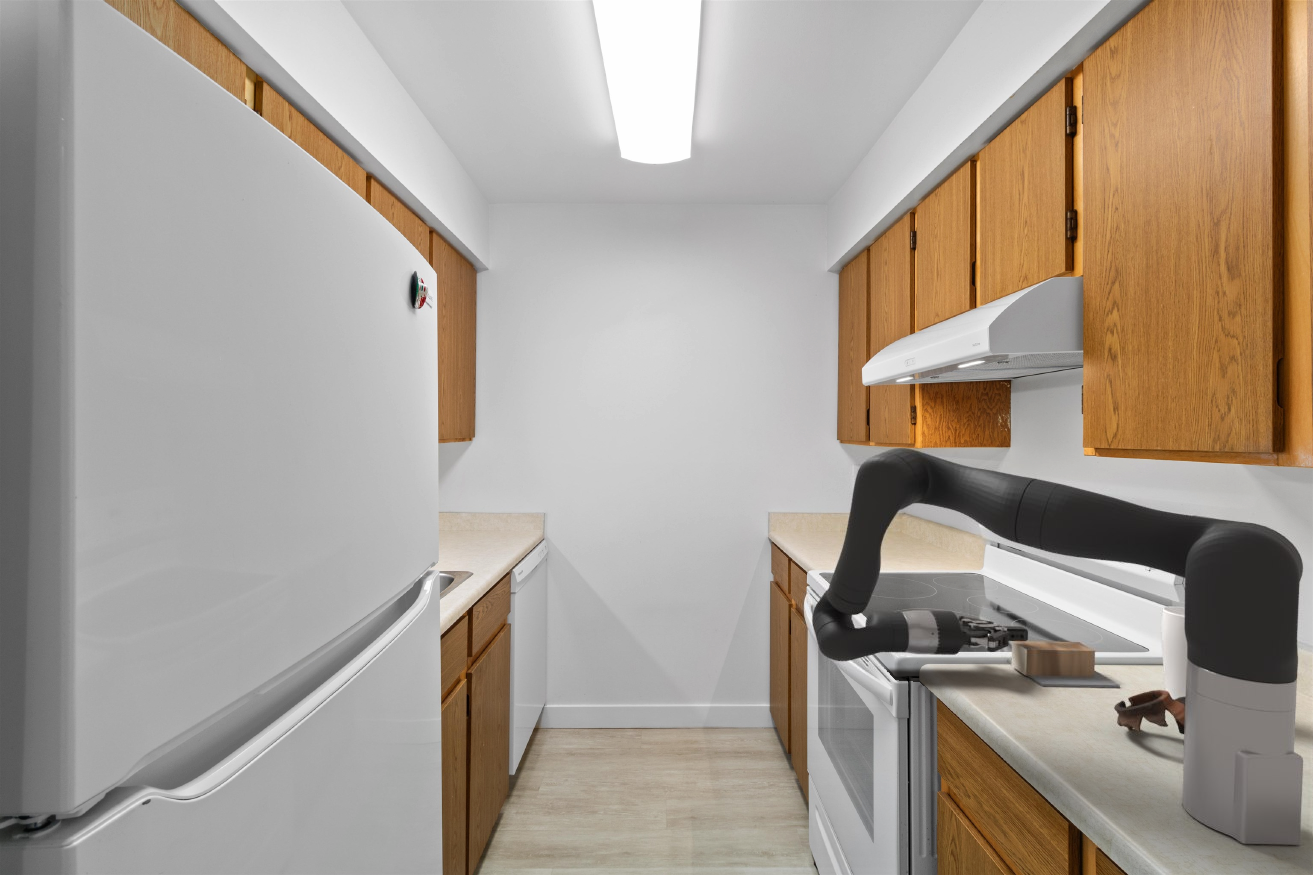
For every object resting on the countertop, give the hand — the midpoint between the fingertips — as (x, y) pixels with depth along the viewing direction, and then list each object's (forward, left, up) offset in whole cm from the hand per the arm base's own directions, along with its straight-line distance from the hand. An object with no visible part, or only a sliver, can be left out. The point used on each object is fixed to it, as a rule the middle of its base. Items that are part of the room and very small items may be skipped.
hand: (1025, 633), depth 117 cm
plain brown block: (0, +1, -4) cm, 4 cm away
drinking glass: (-13, -18, -7) cm, 23 cm away
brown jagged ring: (-25, -6, -7) cm, 27 cm away
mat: (0, -6, -7) cm, 9 cm away
